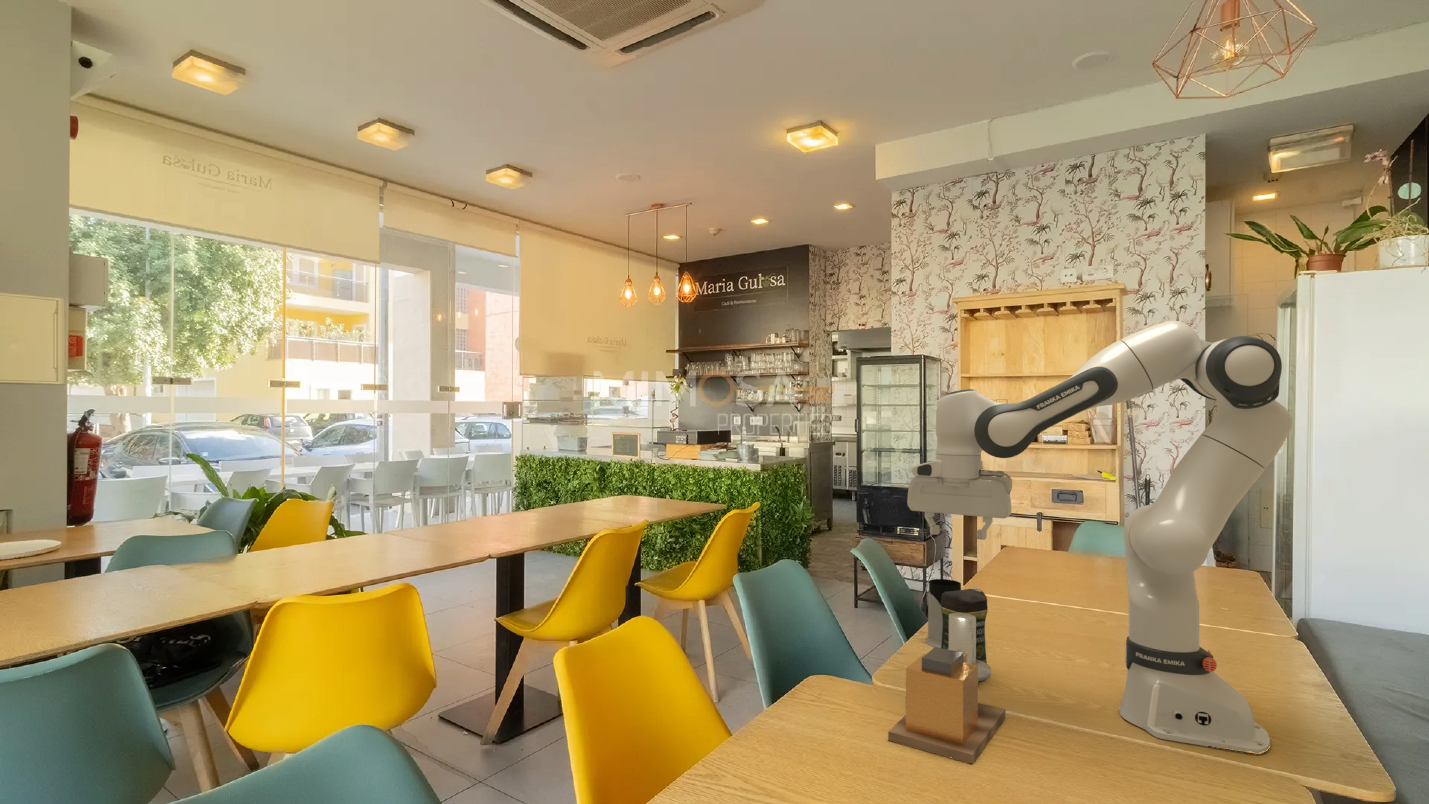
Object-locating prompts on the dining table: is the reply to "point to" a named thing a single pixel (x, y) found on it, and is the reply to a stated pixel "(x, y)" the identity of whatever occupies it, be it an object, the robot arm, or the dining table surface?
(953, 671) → the grey t-shaped block
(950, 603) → the coffee jar
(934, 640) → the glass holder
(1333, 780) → the dining table surface
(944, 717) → the wooden slotted box
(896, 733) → the walnut base board
